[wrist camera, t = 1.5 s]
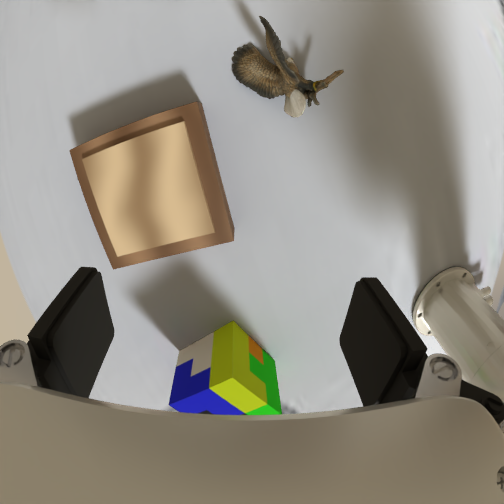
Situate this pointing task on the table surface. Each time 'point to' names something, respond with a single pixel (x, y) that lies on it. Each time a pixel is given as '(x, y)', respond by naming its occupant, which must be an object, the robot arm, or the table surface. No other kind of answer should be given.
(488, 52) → the table surface
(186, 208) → the walnut tray
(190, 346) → the puzzle toy
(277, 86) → the eagle figurine
